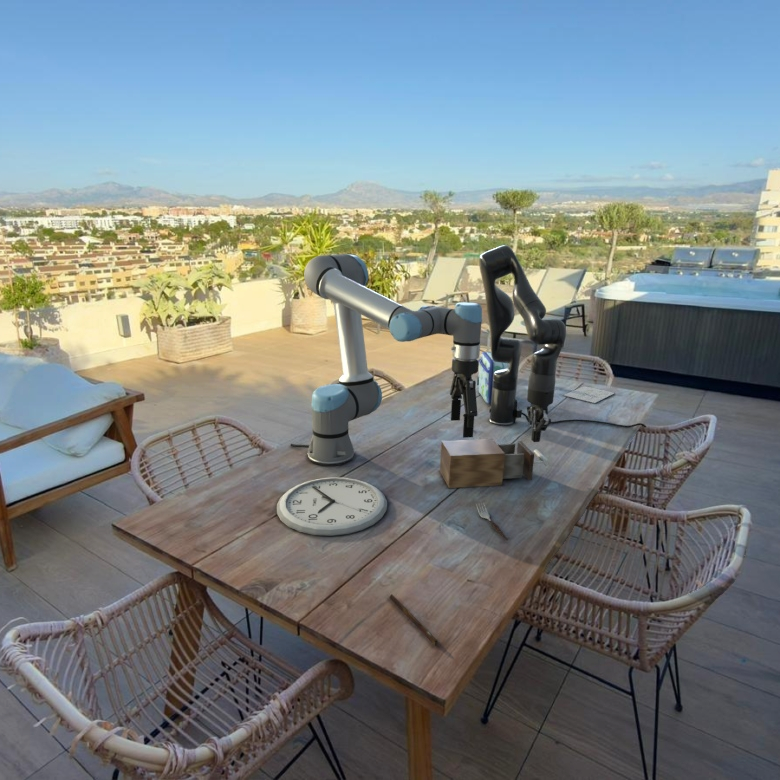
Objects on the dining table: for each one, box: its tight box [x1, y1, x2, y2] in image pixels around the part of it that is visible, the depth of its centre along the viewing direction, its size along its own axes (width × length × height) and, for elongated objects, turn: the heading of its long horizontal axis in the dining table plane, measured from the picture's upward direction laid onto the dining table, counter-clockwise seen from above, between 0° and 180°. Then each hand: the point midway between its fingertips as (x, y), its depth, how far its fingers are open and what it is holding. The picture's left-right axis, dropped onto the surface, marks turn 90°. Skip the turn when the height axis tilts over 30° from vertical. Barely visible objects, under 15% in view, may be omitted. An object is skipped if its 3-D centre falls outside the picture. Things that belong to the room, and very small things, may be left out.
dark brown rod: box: [389, 593, 438, 646], centre depth 101 cm, size 15×1×1 cm, turn 34°
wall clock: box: [276, 476, 388, 537], centre depth 142 cm, size 30×2×30 cm
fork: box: [475, 502, 508, 541], centre depth 134 cm, size 3×16×2 cm, turn 16°
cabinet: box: [439, 438, 505, 489], centre depth 158 cm, size 16×11×10 cm
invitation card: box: [562, 385, 616, 404], centre depth 242 cm, size 21×1×15 cm
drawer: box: [496, 440, 550, 481], centre depth 160 cm, size 21×10×8 cm, turn 98°
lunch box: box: [476, 351, 510, 406], centre depth 230 cm, size 26×11×21 cm, turn 179°
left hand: (461, 428), depth 154 cm, fingers open, 13 cm apart
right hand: (535, 441), depth 159 cm, fingers closed
